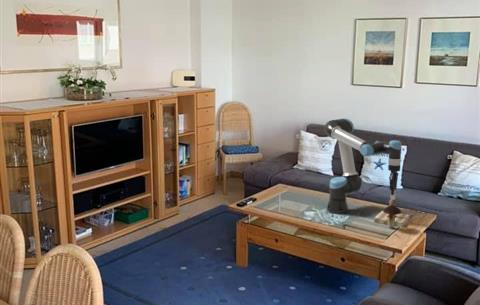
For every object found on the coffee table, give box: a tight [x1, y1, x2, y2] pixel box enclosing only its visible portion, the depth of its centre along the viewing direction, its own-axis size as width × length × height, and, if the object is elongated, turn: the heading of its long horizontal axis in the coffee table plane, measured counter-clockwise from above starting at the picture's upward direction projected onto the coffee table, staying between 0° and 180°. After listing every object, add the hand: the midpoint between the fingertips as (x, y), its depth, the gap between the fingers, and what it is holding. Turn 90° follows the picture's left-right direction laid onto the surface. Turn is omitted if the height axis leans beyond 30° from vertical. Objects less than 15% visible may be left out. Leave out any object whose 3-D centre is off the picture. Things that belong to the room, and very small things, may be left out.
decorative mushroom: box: [382, 205, 402, 229], centre depth 315 cm, size 11×11×15 cm
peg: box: [388, 199, 397, 207], centre depth 328 cm, size 4×4×14 cm
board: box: [373, 210, 410, 228], centre depth 330 cm, size 18×18×3 cm
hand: (392, 199), depth 327 cm, fingers closed
